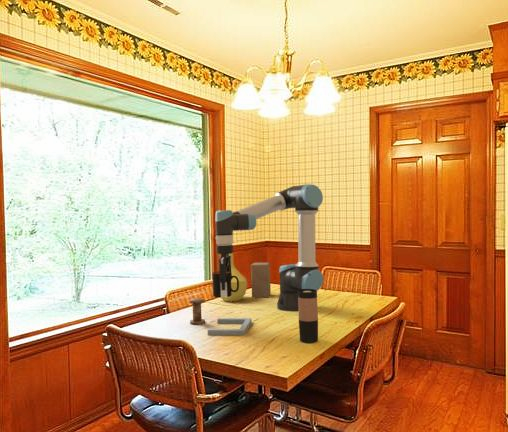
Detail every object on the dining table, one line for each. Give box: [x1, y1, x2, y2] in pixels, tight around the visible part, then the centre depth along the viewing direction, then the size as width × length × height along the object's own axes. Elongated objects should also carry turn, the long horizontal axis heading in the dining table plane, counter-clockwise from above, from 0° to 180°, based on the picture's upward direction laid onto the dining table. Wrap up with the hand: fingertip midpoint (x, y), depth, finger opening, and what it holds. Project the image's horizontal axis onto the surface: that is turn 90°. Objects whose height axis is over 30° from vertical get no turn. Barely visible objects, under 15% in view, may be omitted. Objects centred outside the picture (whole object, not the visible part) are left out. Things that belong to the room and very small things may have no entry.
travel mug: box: [297, 289, 319, 344], centre depth 167 cm, size 8×8×20 cm
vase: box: [220, 252, 248, 303], centre depth 247 cm, size 18×18×30 cm
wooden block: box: [250, 262, 272, 299], centre depth 256 cm, size 10×10×20 cm
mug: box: [211, 271, 239, 298], centre depth 187 cm, size 8×12×10 cm
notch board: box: [207, 317, 253, 336], centre depth 188 cm, size 16×20×2 cm
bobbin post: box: [189, 297, 206, 326], centre depth 199 cm, size 7×7×11 cm
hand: (226, 295), depth 188 cm, fingers closed on mug, 8 cm apart
